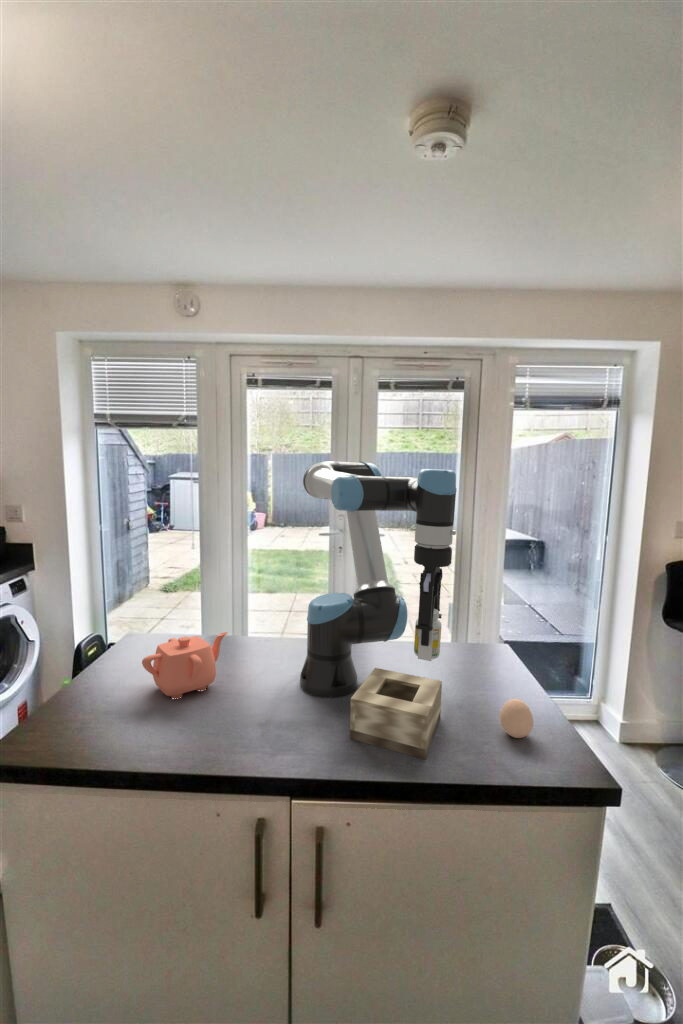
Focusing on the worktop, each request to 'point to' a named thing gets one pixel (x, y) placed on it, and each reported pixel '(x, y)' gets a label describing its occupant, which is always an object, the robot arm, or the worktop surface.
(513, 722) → the egg
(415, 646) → the supplement bottle
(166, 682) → the teapot
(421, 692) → the drop box
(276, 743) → the worktop surface
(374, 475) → the robot arm
